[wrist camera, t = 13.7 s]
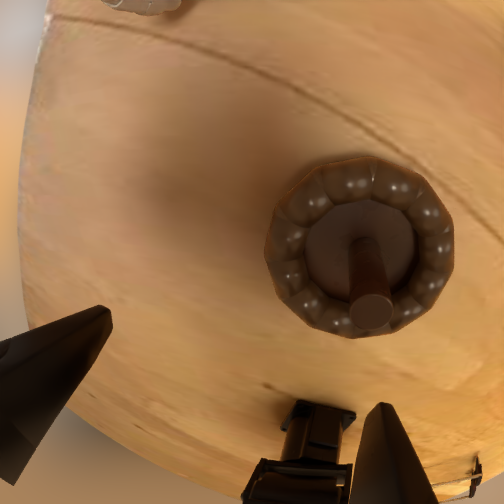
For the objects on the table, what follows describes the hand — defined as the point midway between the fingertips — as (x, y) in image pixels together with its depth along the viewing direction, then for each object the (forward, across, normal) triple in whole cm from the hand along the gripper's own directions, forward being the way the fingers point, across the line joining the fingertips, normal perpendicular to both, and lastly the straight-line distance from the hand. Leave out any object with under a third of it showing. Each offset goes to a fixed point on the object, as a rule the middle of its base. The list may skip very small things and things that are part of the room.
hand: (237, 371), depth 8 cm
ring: (+10, -4, 0) cm, 11 cm away
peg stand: (+12, -4, 0) cm, 13 cm away
